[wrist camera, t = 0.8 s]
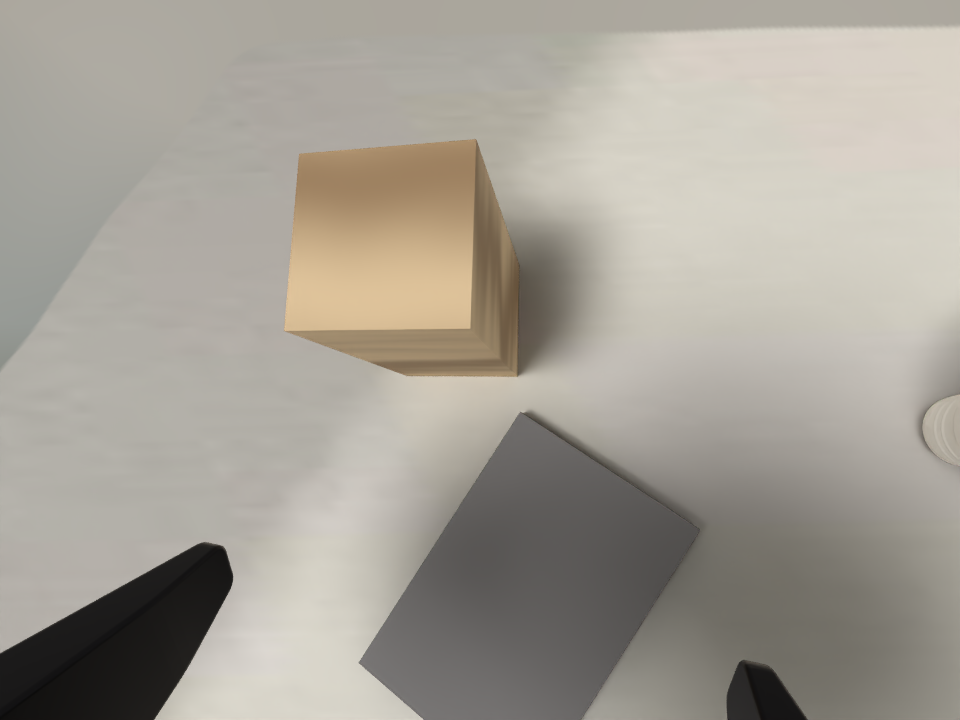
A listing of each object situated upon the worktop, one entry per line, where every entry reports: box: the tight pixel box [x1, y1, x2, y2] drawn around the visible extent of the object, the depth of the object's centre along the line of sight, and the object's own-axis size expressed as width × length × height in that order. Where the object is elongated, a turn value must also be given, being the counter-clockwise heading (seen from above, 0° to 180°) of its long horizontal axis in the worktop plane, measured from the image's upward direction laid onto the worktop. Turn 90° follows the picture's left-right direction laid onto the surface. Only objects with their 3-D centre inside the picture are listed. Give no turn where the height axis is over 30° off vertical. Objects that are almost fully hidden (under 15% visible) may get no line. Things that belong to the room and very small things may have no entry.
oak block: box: [284, 139, 519, 377], centre depth 18 cm, size 5×5×10 cm
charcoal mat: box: [359, 412, 700, 720], centre depth 20 cm, size 12×8×1 cm, turn 146°
